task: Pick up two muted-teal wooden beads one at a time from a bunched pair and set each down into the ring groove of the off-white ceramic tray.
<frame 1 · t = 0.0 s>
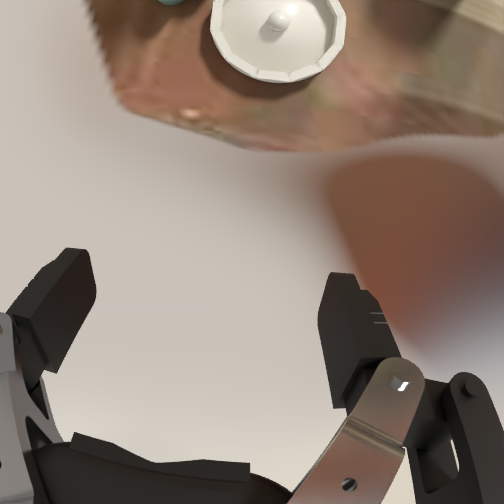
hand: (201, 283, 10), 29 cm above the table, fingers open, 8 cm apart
ring tray: (277, 23, 28), on the table
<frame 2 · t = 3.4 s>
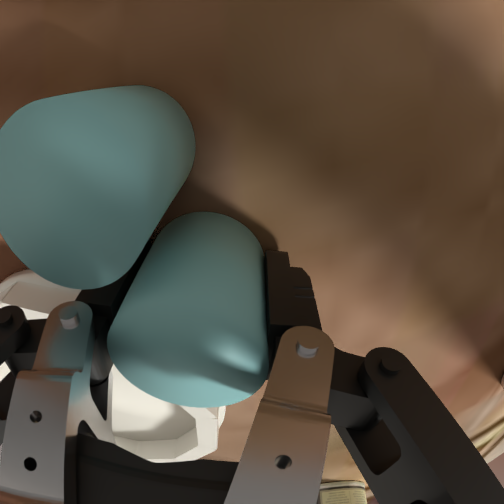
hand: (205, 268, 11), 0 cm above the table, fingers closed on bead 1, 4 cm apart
coffee can: (321, 491, 27), on the table
bead 2: (133, 147, 9), on the table
bead 1: (207, 264, 11), on the table, touching gripper
ring tray: (95, 378, 15), on the table
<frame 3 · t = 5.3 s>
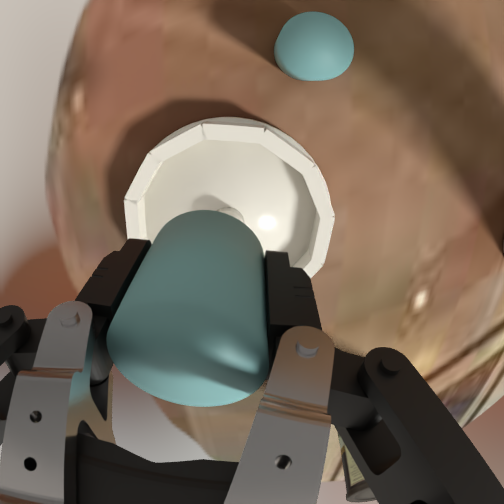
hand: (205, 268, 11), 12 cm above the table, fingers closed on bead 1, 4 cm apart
coffee can: (370, 390, 35), on the table
bead 2: (304, 52, 17), on the table
bead 1: (207, 262, 11), point 12 cm above the table, touching gripper
ring tray: (228, 217, 23), on the table
when the fingers open (3 cm above the table, at t = 7.2 s): bead 1 drops 2 cm, resting on ring tray.
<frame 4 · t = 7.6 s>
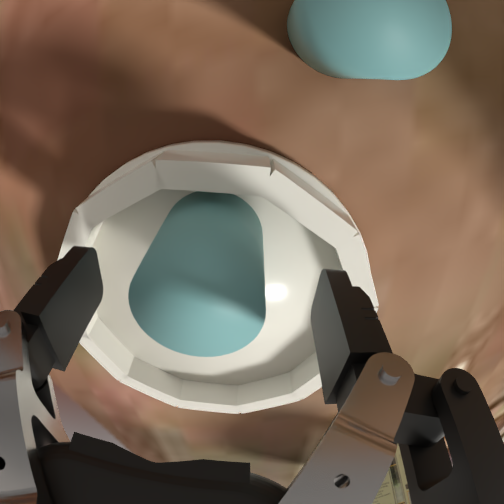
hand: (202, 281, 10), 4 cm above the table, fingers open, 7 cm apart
coffee can: (384, 451, 27), on the table
bead 2: (340, 30, 9), on the table
bead 1: (212, 236, 13), point 1 cm above the table, touching ring tray
ring tray: (212, 296, 15), on the table
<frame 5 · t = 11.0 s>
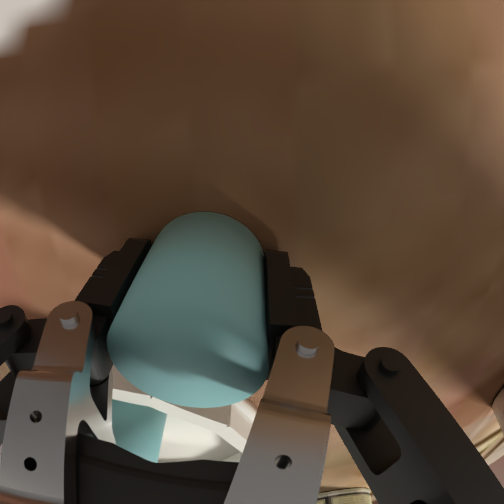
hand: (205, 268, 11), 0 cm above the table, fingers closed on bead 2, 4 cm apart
coffee can: (331, 497, 29), on the table
bead 2: (207, 264, 11), on the table, touching gripper
bead 1: (132, 400, 15), point 1 cm above the table, touching ring tray
ring tray: (146, 420, 17), on the table
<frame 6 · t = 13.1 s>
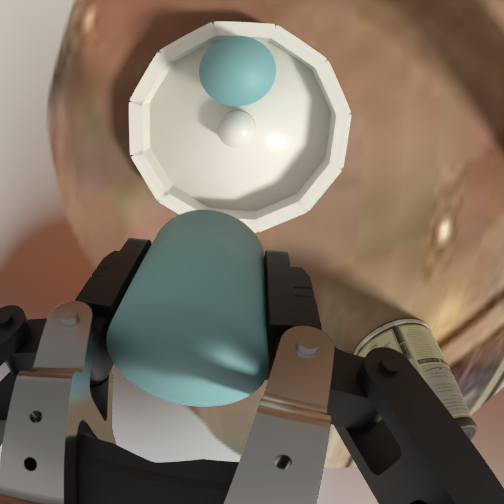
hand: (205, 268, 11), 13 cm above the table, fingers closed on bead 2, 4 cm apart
coffee can: (393, 348, 33), on the table
bead 2: (207, 262, 11), point 13 cm above the table, touching gripper
bead 1: (241, 73, 18), point 1 cm above the table, touching ring tray
ring tray: (238, 125, 21), on the table
when the fingers open (3 cm above the table, at t = 15.4 s): bead 2 drops 2 cm, resting on ring tray.
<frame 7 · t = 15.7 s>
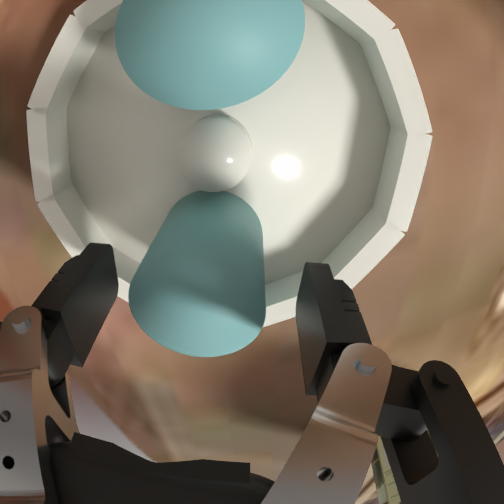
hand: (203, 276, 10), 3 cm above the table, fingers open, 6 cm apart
coffee can: (415, 421, 24), on the table
bead 2: (212, 236, 13), point 1 cm above the table, touching ring tray
bead 1: (225, 45, 9), point 1 cm above the table, touching ring tray
ring tray: (220, 142, 11), on the table
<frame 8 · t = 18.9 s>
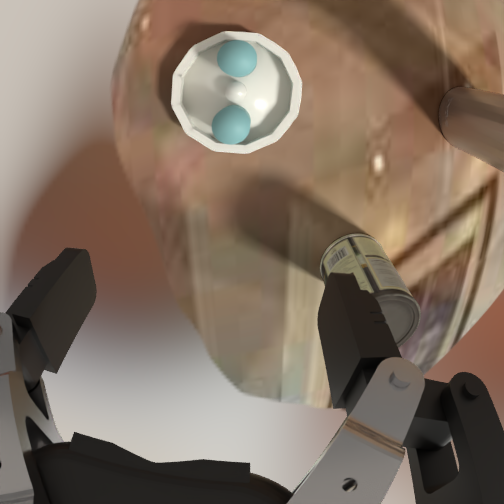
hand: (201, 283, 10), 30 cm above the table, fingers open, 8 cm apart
coffee can: (352, 262, 45), on the table
bead 2: (233, 121, 34), point 1 cm above the table, touching ring tray
bead 1: (239, 61, 31), point 1 cm above the table, touching ring tray
ring tray: (236, 91, 33), on the table
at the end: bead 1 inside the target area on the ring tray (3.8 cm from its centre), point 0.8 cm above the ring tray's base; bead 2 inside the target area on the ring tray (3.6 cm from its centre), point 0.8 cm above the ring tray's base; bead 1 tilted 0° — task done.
